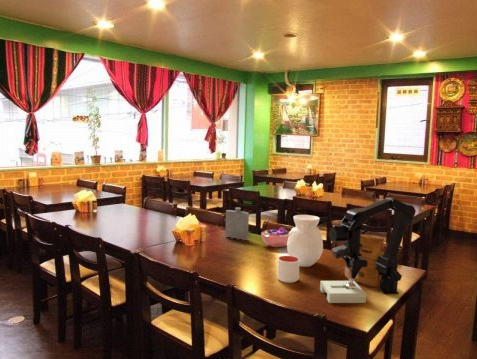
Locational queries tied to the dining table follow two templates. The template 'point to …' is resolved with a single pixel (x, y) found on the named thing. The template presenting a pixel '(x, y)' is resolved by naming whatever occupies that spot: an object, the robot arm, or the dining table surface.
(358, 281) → the coffee package
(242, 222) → the hip flask
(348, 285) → the peg
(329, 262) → the dining table surface
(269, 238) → the cell model
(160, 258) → the dining table surface
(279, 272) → the cup
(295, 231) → the white vase
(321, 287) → the keyhole plate
